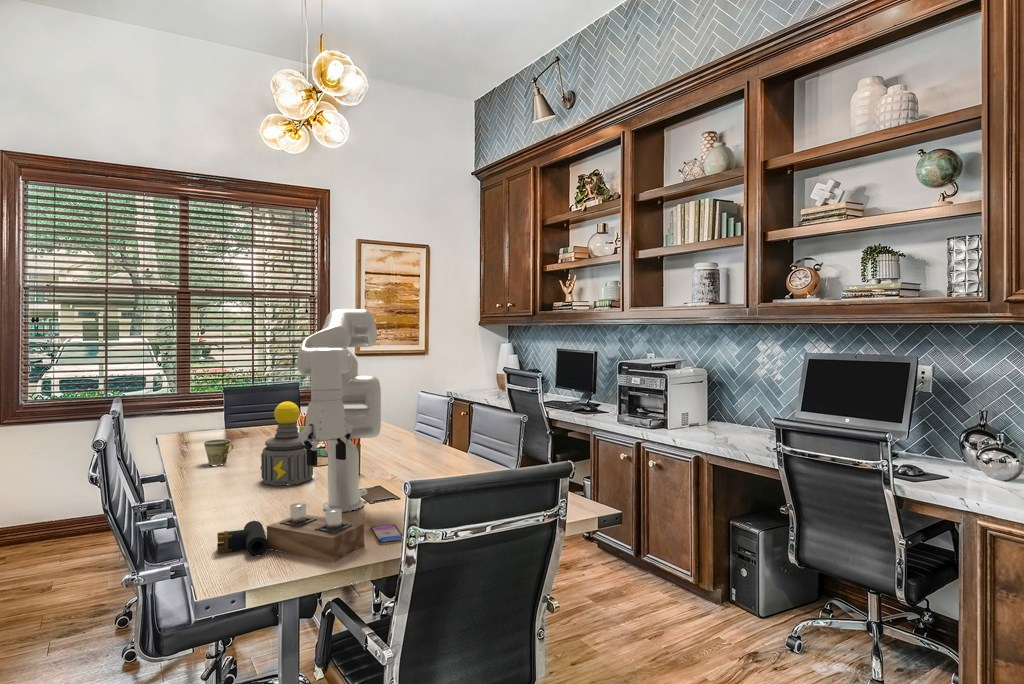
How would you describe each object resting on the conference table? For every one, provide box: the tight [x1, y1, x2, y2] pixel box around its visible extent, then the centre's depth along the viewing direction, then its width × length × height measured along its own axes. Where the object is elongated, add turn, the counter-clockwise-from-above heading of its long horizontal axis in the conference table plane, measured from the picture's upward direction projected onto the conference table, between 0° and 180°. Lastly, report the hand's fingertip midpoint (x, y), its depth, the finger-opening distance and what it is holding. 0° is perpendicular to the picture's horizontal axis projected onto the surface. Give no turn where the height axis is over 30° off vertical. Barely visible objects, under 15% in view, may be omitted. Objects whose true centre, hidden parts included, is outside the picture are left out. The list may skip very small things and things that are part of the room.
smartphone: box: [369, 524, 403, 546], centre depth 170 cm, size 8×15×1 cm, turn 23°
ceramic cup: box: [203, 438, 234, 466], centre depth 259 cm, size 13×10×10 cm
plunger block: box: [266, 513, 365, 563], centre depth 160 cm, size 12×22×6 cm, turn 65°
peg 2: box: [324, 508, 343, 531], centre depth 158 cm, size 4×4×6 cm
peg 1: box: [289, 502, 307, 525], centre depth 163 cm, size 4×4×6 cm
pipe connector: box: [216, 520, 269, 557], centre depth 160 cm, size 12×5×15 cm
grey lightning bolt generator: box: [260, 401, 315, 486], centre depth 232 cm, size 19×19×30 cm
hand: (326, 462), depth 159 cm, fingers open, 9 cm apart
